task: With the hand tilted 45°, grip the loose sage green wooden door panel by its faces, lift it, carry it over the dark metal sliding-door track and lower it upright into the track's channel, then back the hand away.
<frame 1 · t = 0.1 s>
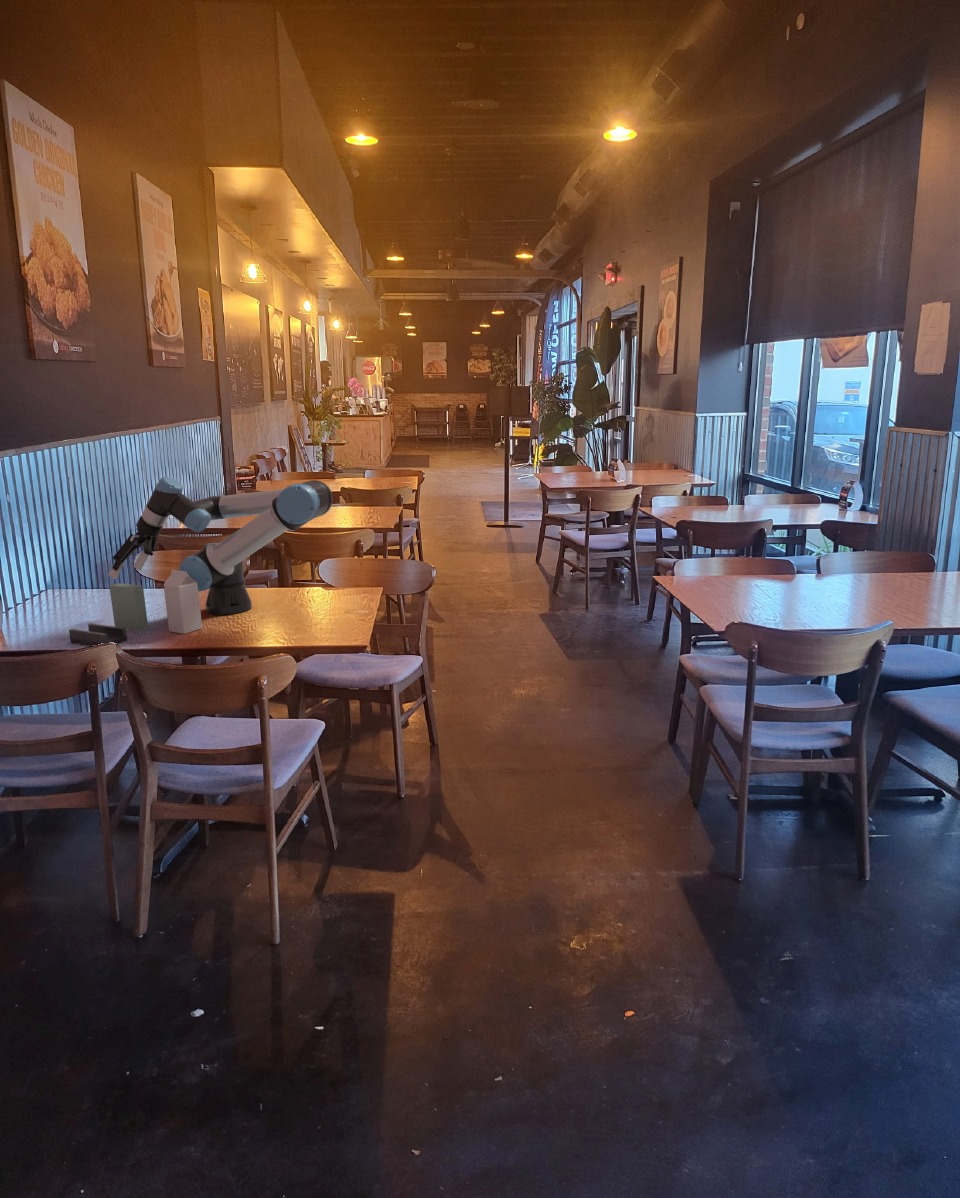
hand: (124, 572, 279), 15 cm above the table, tool tilted 35°, fingers open, 13 cm apart
door panel: (131, 628, 269), on the table
milk carton: (185, 630, 265), on the table
bottom track: (99, 641, 255), on the table
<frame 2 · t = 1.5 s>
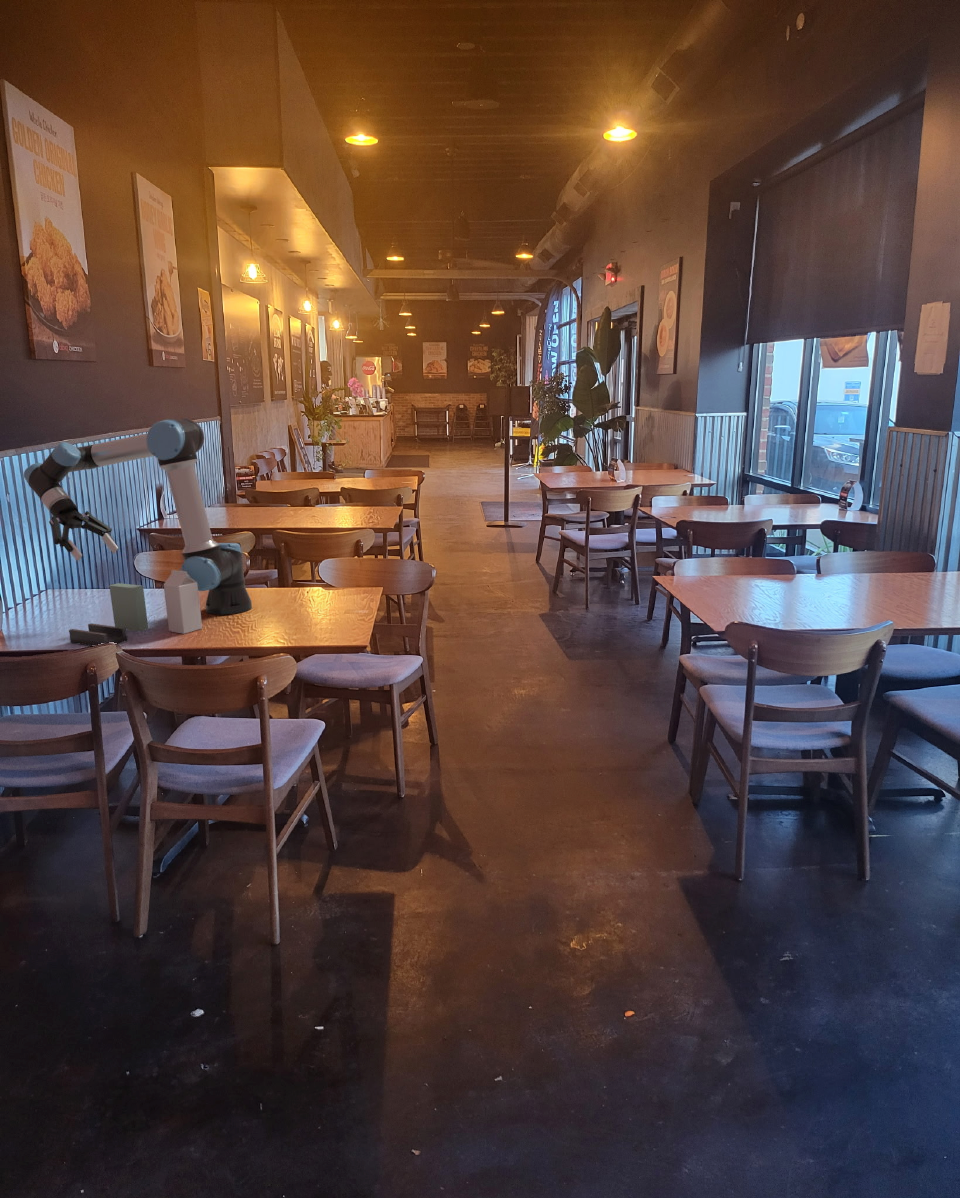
hand: (98, 554, 269), 23 cm above the table, tool tilted 45°, fingers open, 13 cm apart
nothing on the table moved.
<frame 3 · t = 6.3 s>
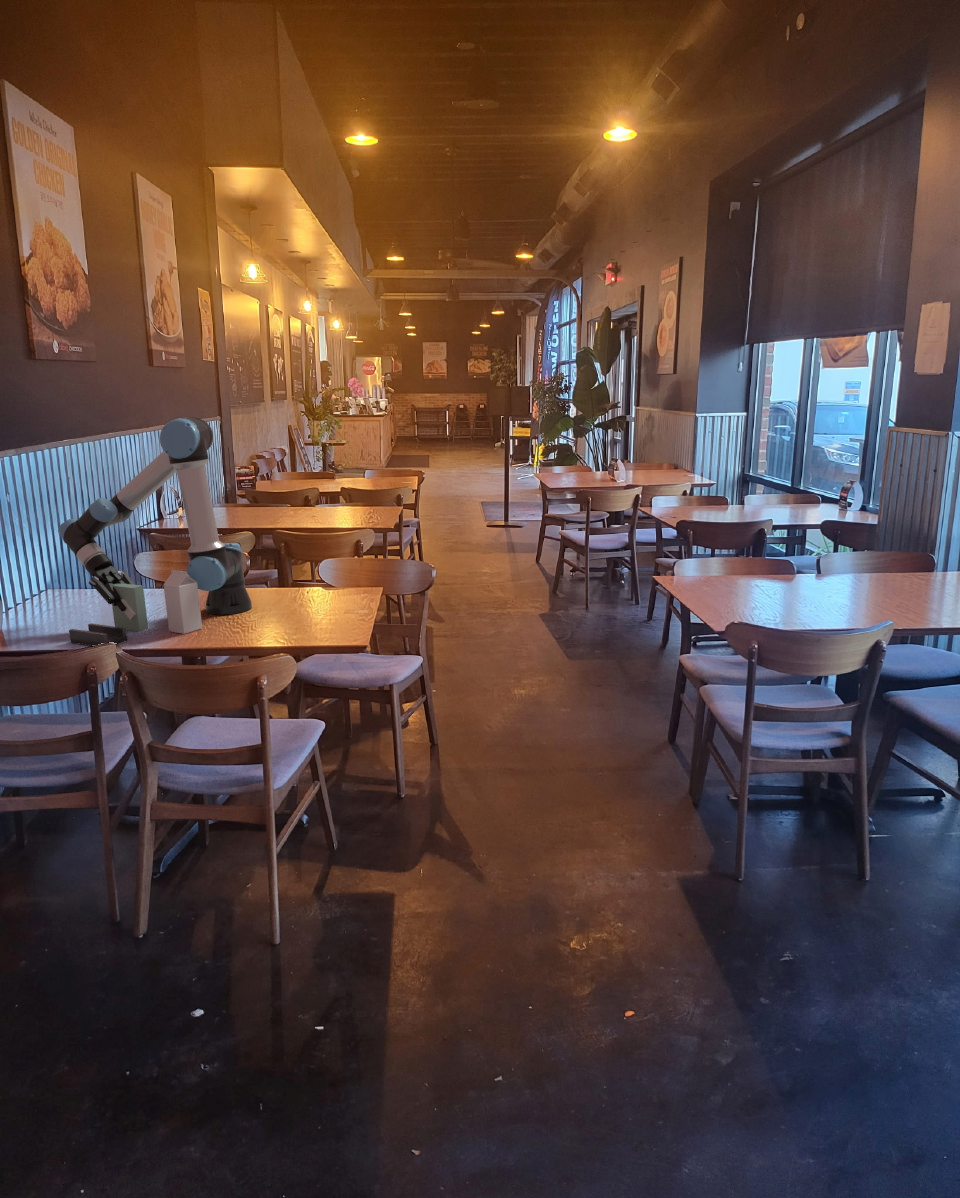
hand: (138, 615, 267), 5 cm above the table, tool tilted 45°, fingers closed on door panel, 3 cm apart
door panel: (131, 628, 269), on the table, touching gripper
everything else where it was.
when the fingers open (7 cm above the table, at t = 11.8 s): door panel stays where it is, resting on bottom track.
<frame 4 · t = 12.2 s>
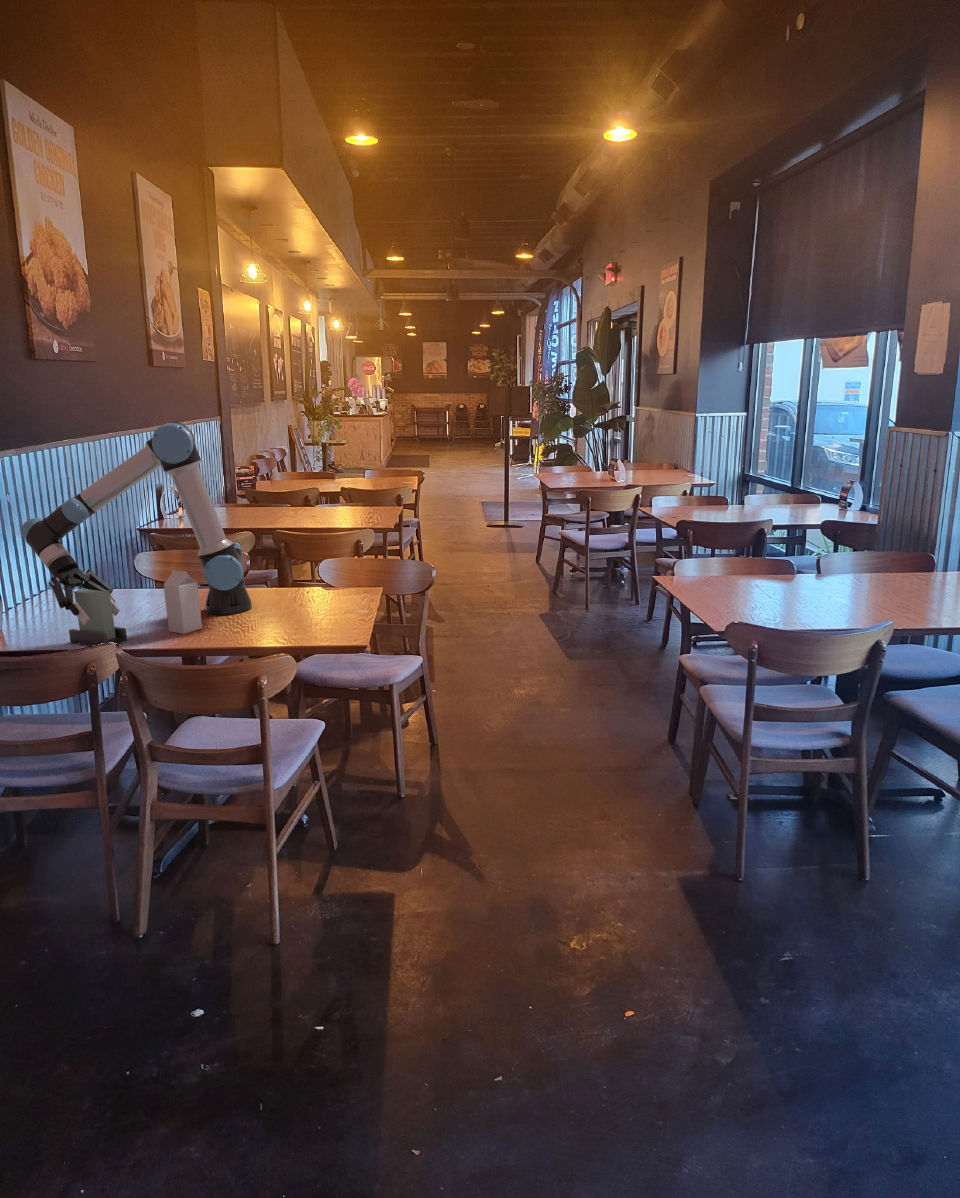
hand: (102, 617, 252), 8 cm above the table, tool tilted 45°, fingers open, 10 cm apart
door panel: (98, 636, 255), point 1 cm above the table, touching bottom track
everything else where it was.
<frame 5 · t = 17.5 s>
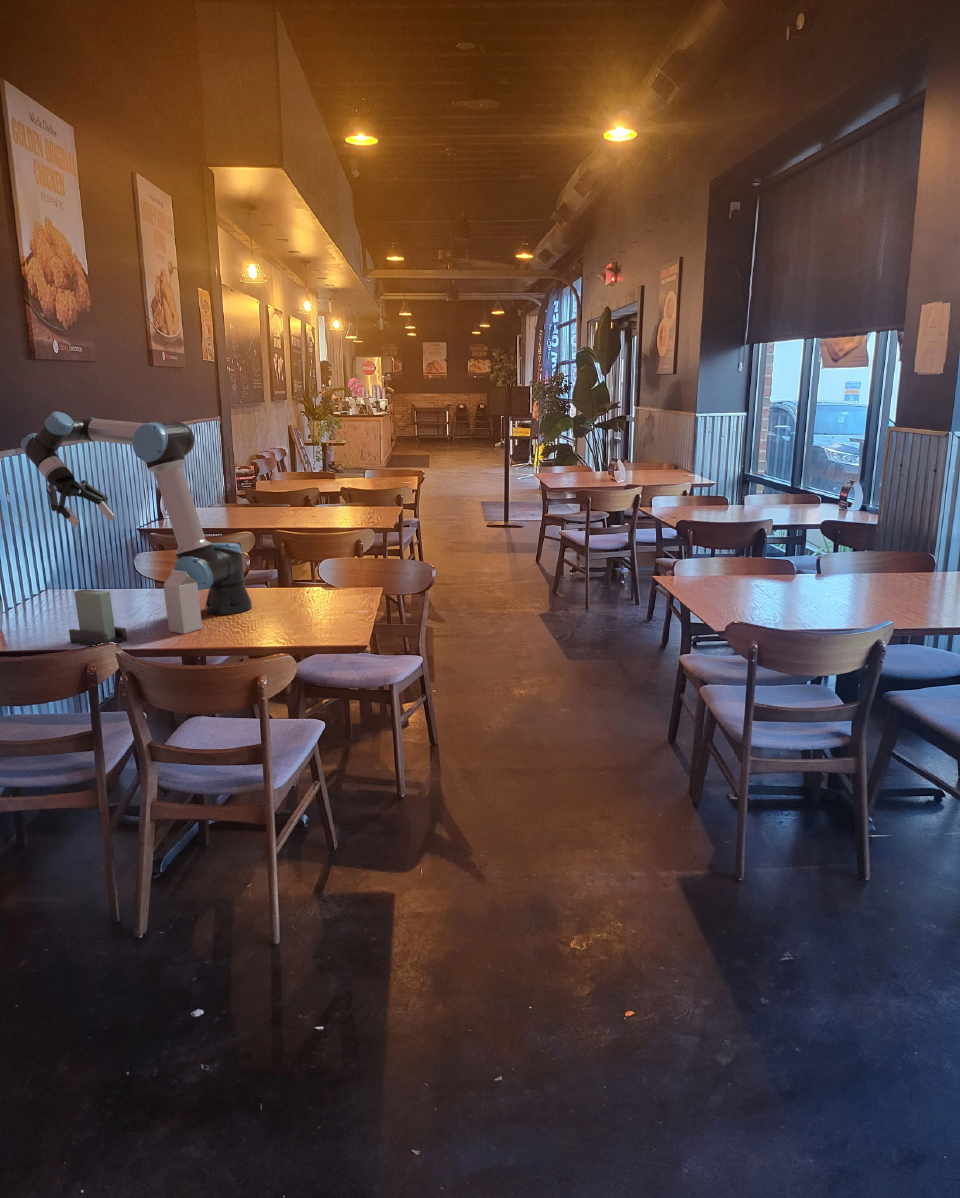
hand: (94, 521, 275), 33 cm above the table, tool tilted 45°, fingers open, 13 cm apart
nothing on the table moved.
at the end: door panel inside the target area on the bottom track (0.1 cm from its centre), point 1.5 cm above the bottom track's base; door panel tilted 0°; the gripper is holding nothing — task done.
